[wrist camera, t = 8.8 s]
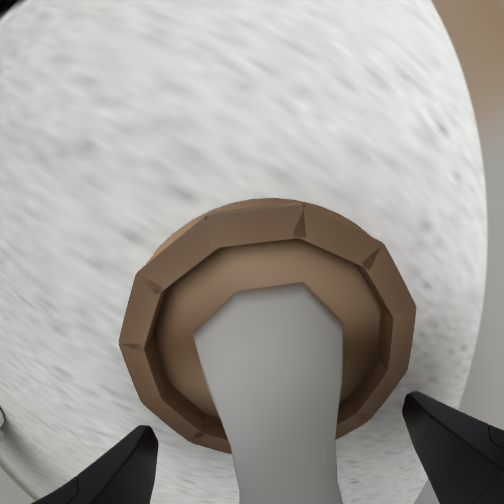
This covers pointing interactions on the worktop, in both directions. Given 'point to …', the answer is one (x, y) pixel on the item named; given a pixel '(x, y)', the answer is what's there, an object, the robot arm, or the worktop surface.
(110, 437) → the worktop surface
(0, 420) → the paper towel roll
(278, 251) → the walnut collar
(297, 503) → the flask
